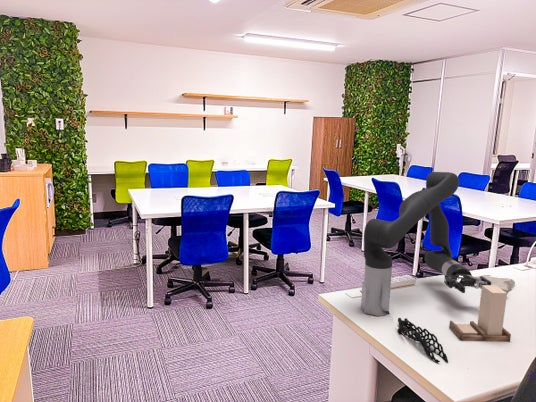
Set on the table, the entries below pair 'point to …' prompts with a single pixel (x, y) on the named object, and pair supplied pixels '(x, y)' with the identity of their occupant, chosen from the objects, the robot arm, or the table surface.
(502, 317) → the beige wooden block
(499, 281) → the rock
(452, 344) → the table surface
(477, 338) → the wooden open-ended tray
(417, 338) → the decorative element
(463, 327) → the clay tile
